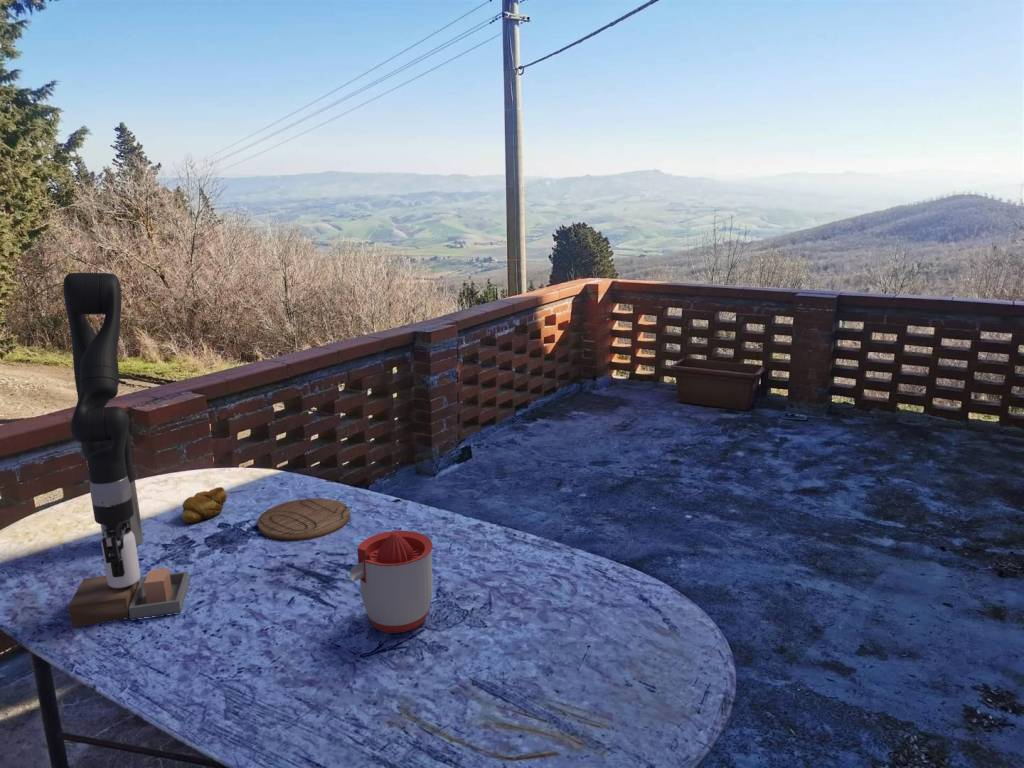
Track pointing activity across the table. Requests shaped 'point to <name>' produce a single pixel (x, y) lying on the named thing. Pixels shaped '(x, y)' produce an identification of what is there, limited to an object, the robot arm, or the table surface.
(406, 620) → the citrus juicer
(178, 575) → the box
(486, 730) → the table surface
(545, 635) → the table surface
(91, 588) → the brown wooden block
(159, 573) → the small tan cube
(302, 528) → the trivet
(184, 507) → the bread roll
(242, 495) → the table surface
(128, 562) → the can
